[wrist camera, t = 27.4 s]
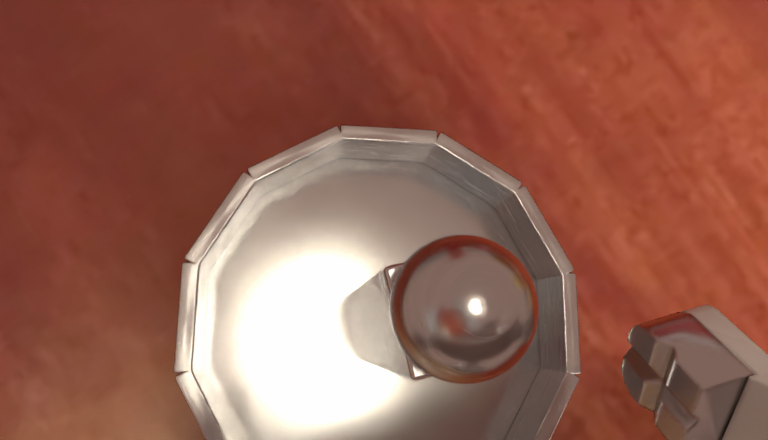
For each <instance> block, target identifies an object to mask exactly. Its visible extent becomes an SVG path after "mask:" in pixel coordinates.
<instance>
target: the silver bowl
mask: <svg viewBox="0 0 768 440" xmlns="http://www.w3.org/2000/svg"><path fill="white" fill-rule="evenodd" d="M247 171H248V174H247V173H246V172H243V173H242V174H241V176H240V177H239V179H238V180H237V181H236V183H235V184H234V186H233V187H232V189H231V190H230V192H229V193H228V195H227V196H226V197H225V199H224V200H223V202H222V203H221V205H220V206H219V208H218V209H217V210H216V212H215V213H214V215H213V216H212V218H211V219H210V221H209V222H208V223H207V225H206V226H205V228H204V229H203V231H202V232H201V234H200V235H199V236H198V238H197V239H196V241H195V242H194V244H193V245H192V247H191V248H190V249H189V251H188V252H187V254H186V255H185V257H184V259H185V260H187V261H188V262H183V263H182V269H181V282H180V295H179V308H178V320H177V333H176V346H175V359H174V373H181V374H179V375H177V376H176V377H175V380H176V382H177V384H178V386H179V388H180V390H181V392H182V394H183V396H184V398H185V400H186V402H187V404H188V406H189V408H190V410H191V412H192V414H193V416H194V418H195V420H196V421H197V423H198V425H199V427H200V429H201V431H202V433H203V435H204V437H205V439H206V440H551V438H552V436H553V434H554V431H555V429H556V427H557V425H558V423H559V421H560V419H561V417H562V415H563V413H564V411H565V408H566V406H567V404H568V402H569V400H570V398H571V396H572V394H573V392H574V390H575V388H576V385H577V383H578V381H579V377H578V376H576V375H575V374H581V365H580V346H579V326H578V306H577V286H576V274H575V273H570V272H572V271H573V270H574V268H573V266H572V264H571V262H570V261H569V259H568V257H567V256H566V254H565V252H564V251H563V249H562V247H561V245H560V244H559V242H558V240H557V239H556V237H555V235H554V233H553V232H552V230H551V228H550V227H549V225H548V223H547V222H546V220H545V218H544V216H543V215H542V213H541V211H540V210H539V208H538V206H537V205H536V203H535V201H534V199H533V198H532V196H531V194H530V193H529V191H528V189H527V188H526V186H522V187H521V188H520V186H521V184H522V182H521V181H519V180H518V179H516V178H514V177H513V176H511V175H510V174H508V173H506V172H505V171H503V170H502V169H500V168H498V167H497V166H495V165H493V164H492V163H490V162H489V161H487V160H485V159H484V158H482V157H481V156H479V155H477V154H476V153H474V152H473V151H471V150H469V149H468V148H466V147H465V146H463V145H461V144H460V143H458V142H457V141H455V140H453V139H452V138H450V137H449V136H447V135H445V134H444V133H442V132H441V133H440V134H439V135H438V136H437V131H436V130H420V129H403V128H387V127H371V126H354V125H341V126H340V130H339V128H338V127H337V126H335V127H332V128H330V129H328V130H326V131H324V132H322V133H320V134H318V135H316V136H314V137H312V138H310V139H307V140H305V141H303V142H301V143H299V144H297V145H295V146H293V147H291V148H289V149H287V150H285V151H282V152H280V153H278V154H276V155H274V156H272V157H270V158H268V159H266V160H264V161H262V162H260V163H257V164H255V165H253V166H251V167H249V168H248V169H247Z"/></svg>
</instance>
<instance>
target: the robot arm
mask: <svg viewBox="0 0 768 440" xmlns="http://www.w3.org/2000/svg"><path fill="white" fill-rule="evenodd" d="M628 341H629V343H630V344H631V345H632V348H631V349H630V350H629V351H628V352H627V353H626V355H625V356H624V357H623V363H622V369H621V370H622V374H623V378H624V382H625V385H626V387H627V388H628V390H629V392H630V394H631V395H632V397H633V398H634V399H635V401H636V402H637V403H638V404H639V405H640V406H642V407H644V408H646V409H648V410H650V411H652V412H654V423H655V426H656V427H657V428H658V430H659V431H660V432H661V433H662V435H663V436H664V437H665V438H666V440H768V355H767V354H766V353H765V352H764V351H763V350H762V349H761V348H760V347H759V346H757V345H756V344H755V343H754V342H753V341H752V340H751V339H750V338H749V337H747V336H746V335H745V334H744V333H743V332H742V331H741V330H740V329H738V328H737V327H736V326H735V325H734V324H733V323H732V322H731V321H730V320H728V319H727V318H726V317H725V316H724V315H723V314H722V313H721V312H719V311H718V310H717V309H716V308H714V307H712V306H710V305H702V306H698V307H695V308H692V309H689V310H686V311H683V312H677V313H674V314H670V315H667V316H664V317H661V318H658V319H655V320H651V321H648V322H645V323H642V324H639V325H636V326H634V327H633V328H632V329H631V330H630V333H629V336H628Z"/></svg>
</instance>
